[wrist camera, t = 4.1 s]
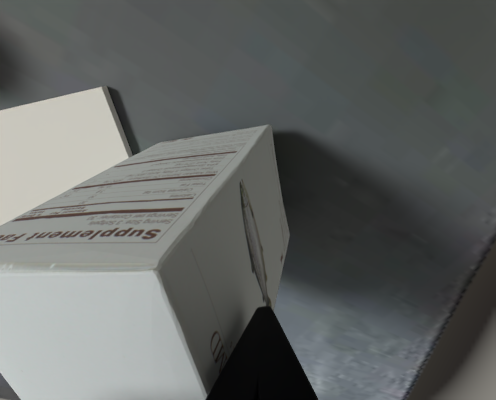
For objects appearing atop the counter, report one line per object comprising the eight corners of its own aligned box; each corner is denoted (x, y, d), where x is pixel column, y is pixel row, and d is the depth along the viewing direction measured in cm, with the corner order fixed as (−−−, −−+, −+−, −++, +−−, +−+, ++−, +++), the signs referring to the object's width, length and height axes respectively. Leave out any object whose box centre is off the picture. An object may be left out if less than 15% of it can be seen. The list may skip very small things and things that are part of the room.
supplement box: (293, 235, 19) (243, 488, 8) (189, 239, 21) (40, 441, 10) (275, 119, 16) (160, 272, 5) (156, 137, 18) (-101, 270, 7)
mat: (106, 85, 17) (101, 86, 16) (179, 278, 23) (177, 283, 22) (-57, 124, 18) (-66, 126, 18) (50, 296, 24) (45, 301, 24)
